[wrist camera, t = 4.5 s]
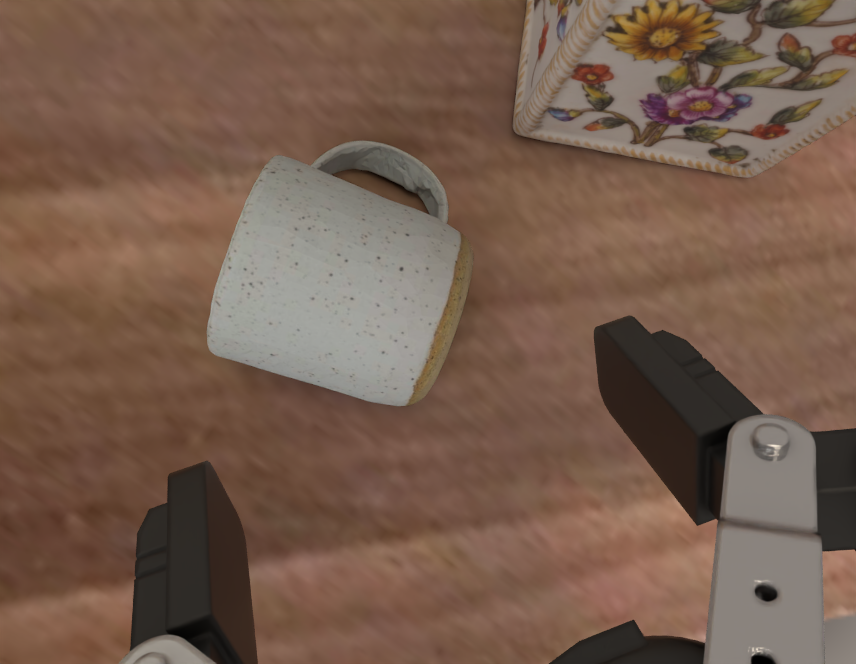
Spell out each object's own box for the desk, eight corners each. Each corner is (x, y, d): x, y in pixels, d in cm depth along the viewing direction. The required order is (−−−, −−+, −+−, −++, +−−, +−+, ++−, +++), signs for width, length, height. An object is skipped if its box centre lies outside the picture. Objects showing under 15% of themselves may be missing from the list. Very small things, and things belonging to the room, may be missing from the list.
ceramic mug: (411, 422, 31) (439, 411, 24) (218, 364, 30) (183, 333, 23) (479, 190, 33) (524, 111, 26) (299, 131, 32) (292, 32, 25)
